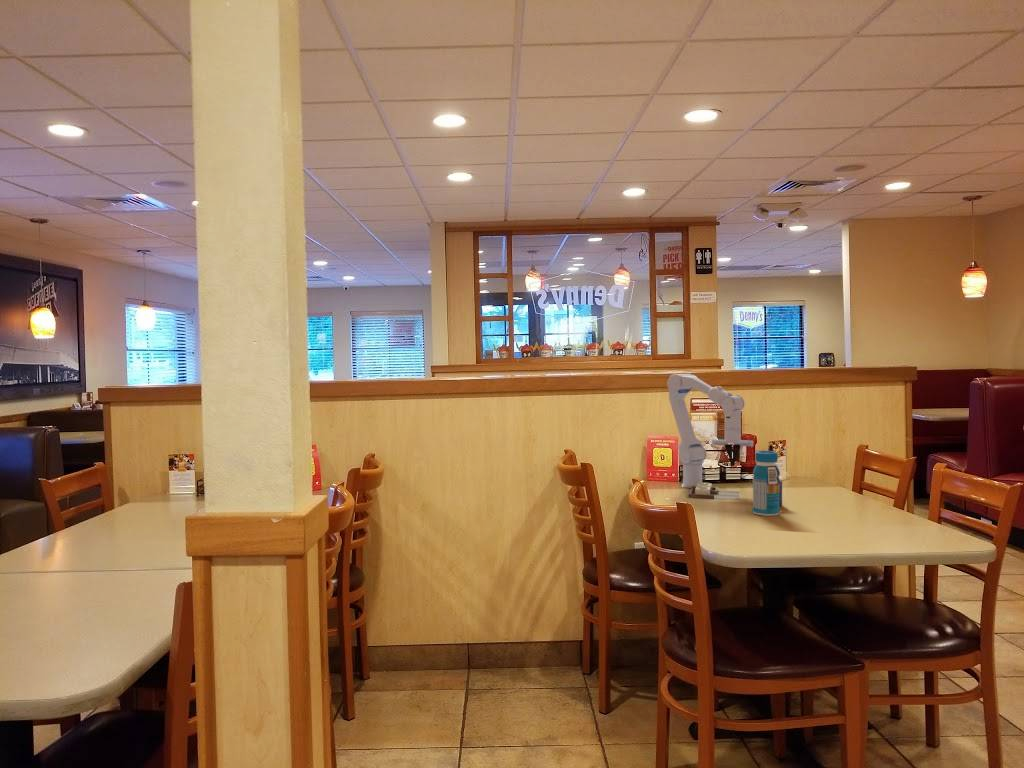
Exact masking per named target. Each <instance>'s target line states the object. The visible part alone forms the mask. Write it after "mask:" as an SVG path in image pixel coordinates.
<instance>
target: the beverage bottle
mask: <svg viewBox="0 0 1024 768" xmlns="http://www.w3.org/2000/svg"><path fill="white" fill-rule="evenodd" d="M754 454H755V457H754V459H755V463H757V464H756V465H755V466H754V468H753V470H752V474H753V477H752V480H751V481H752V505H753V506H752V513H753V514H755V515H757V516H763V517H775V516H779V515H780V506H779V487H780V480H781V479H780V474H781V473H780V469H779V468H778V466H777V465H776V464H777V463H778V459H779V458H778V452H777V451H773V450H758V451H755V453H754Z"/></svg>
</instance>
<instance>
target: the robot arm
mask: <svg viewBox="0 0 1024 768" xmlns="http://www.w3.org/2000/svg"><path fill="white" fill-rule="evenodd" d="M666 385H667V389H668V400H669V403H670V407H671V410H672V413H673V417H674V421H675V423H676V427H677V429H678V433H679V437H680V440H681V441H680V443H679V444H678V446H677V448H678V457H679V460H680V462H681V464H682V470H683V471H682V484H681V488H686V489H687V488H690V489H691V487H692V486H697V484H698V483H702V482H703V464H704V461H705V460H706V458H707V454H708V453H707V450H706V448H705V447H704V446H703V444H702V441H701V440H699V438H697V437H696V435H695V432H694V428H693V424H692V421H691V418H690V414H689V411H688V407H687V404H686V402H685V398H686V397H687V396H688V394H689V393H690V392H691V391H692V390H697V391H698V392H700V393H702V394H705V395H707V397H708V400H709V401H712V402H713V403H715V404H716V405H718V406H720V407H721V409H722V410H723V415H724V439H711V445H712V446H724V448H725V451H726V453H727V456H728V459H729V464H730V467H731V466H733V467H735V463H736V459H737V456H738V453H739V451H740V449H741V447H754V440H747V439H746V440H745V439H742V438H741V437H742V430H741V429H742V410H743V409H744V407H745V400H744V398H743V397H742V396H740V394H735V395H734V394H733V393H732V392H731V391H726V390H725V389H723V387H722V386H720V385H719V386H714V387H713V386H711V385H710V384H708V383H706V382H705V381H704V380H701V379H700V378H699V377H697V376H696V375H694V374H692V373H678V374H677V373H673V374H671V375H670V376H669V378H668V379H667V382H666Z"/></svg>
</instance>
